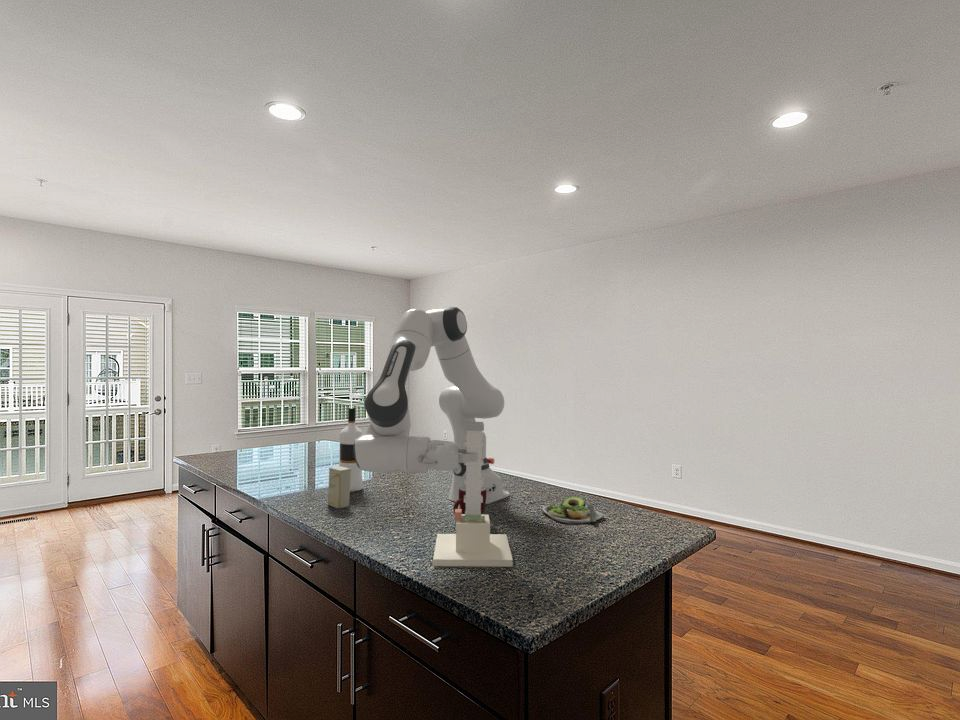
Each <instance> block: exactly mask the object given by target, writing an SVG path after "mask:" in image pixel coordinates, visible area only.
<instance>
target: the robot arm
mask: <svg viewBox="0 0 960 720" xmlns="http://www.w3.org/2000/svg"><path fill="white" fill-rule="evenodd" d="M467 330H468V323H467V318H466V315H465V313H464V312H463V311H462V310H461V309H460V308H459V307H457V306H447V307H445V308H444V307H443V308H435V309H429V310H426V311H425V310H423V309H419V308H411V309H409V310H407V311H405V312H404V313H403V314H402V316H401V318H400V320H399V322H397V325H396V328H395V330H394V332H393V336H392V338H391V343H390V348H389V353H388V356H387V358H386V361H385V364H384V368H382V369H383V370H382V373H381V375H380V377H379V379H378V380H377V382H376V383H375V384H374V386H372V388H371V389H370V390H369V392H368V393H367V395H366V397H365V400H364V409H365V411H366V414H367V416H368V418H369V420H370V422H369V425H367V427H366V429H364V432H363V434H362V435H361V436H360V437H359V438H357V439H355V442H354V456H355V461H356V464H357V466H358V467H359V468H360V469H361V470H362V471H364V472H369V473H378V474H379V473H381V474H385V473H386V474H390V473H391V474H392V473H394V472H395V473H396V472H402V473H405V474H428V472H429V470H433V471H434V470H435V471H436V470H439V471H453V473H452V479H451V485H450V486H451V487H450V491H449V495H448V500H450V501H452V502H454V503H455V502H456V501H457V500H459V488H460V487H462V486H466V484H464V477H466V465H464V463H466V462H477V461H478V454H477V453H471V454H467V446H465V441H467V431H465V423H466V422H477V420H476V419H492V418H497V417H499V416H500V415H501V414H502V413H503V411H504V408H505V397H504V395H503V393H502V391H500V390H499V388H497V387H495V386H494V385H492V384H491V383H490V382H489V381H488V380H487V379H486V378H485V377H484V376H483V374H482V372H481V371H480V369H479V368H478V366H477V364H476V362H475V359H474V356H473V354H472V351H471V348H470V345H469V342H468V340H467V338H466V336H465V335H466V334H467ZM431 347H434V349H435V354H436V356H437V358H438V361H439V364H440V367H441V369H442V373H443V375H444V378H445V379H446V380H448V382H450V383H451V384H452V385H451V386H447V387H445V388H443V389H442V391H441V392H440V395H439V396H438V397H439V398H438V405H439V407H440V410H441V411H442V412H443V413H444V414H445V415H446V417H447V419H448V420H449V423H450V425H451V429H452V433H453V441H448V440H439V439H438V440H437V439H431V437H429V436H409V434H410V431H411V426H412V425H411V424H412V423H411V419H410V418H411V417H410V412H409V410H410V409H409V401H408V400H409V399H408V394H407V391H406V385H407V381H408V378H409V374H410V372H415V371H418V370H420V369H422V368H423V367H425V364H426V362H427V361H428V358H429V355H430V352H431ZM482 441H484V447H482V459H483V461H484V462H483V465H481V477H483V484H481V486H482V487H485V488H486V503H485V505H488V504H492V503H494V502H497V501H501V500H502V499H505V498H508V497H510V496H511V494H510V492H509V491H508V490H504V482H503V479H502V477H501V476H499V474H497V473H496V472H495V471H494V470H493V469H491V467H490V465H494V464H495V459H494V457H493V458H492V457H488V458H487V435H486V433H485V431H482Z"/></svg>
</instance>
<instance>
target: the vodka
mask: <svg viewBox="0 0 960 720" xmlns="http://www.w3.org/2000/svg"><path fill="white" fill-rule="evenodd" d="M347 414H348V415H347V417H348V418H347V420H348V421H347V426H346V427H344V428H343V429H341V431H340V432H339V461H338V466H341V467H346V468H349V469H351V475H350V493H355V491H357V492H360V491H361V490H363V488H364V481H363V475H362V474H363V472H362V471H363V470H361V469H360V468H359V467H358V466H357V464H356V461H355V456H354V442H355V439H357V438H359V437H360V436H361V435H362V434H363V433H364V432H363V430H362V429H361V428H359V427H358V426H357V425H356V407H348V412H347Z"/></svg>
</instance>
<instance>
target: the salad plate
mask: <svg viewBox="0 0 960 720" xmlns="http://www.w3.org/2000/svg"><path fill="white" fill-rule="evenodd" d="M541 511H542V513H543V515H545V516H546V517H548V518H550V519H552V520H555V521H556V522H560V523H562V524H563V523H564V524H569V525H570V524H571V525H574V524H575V525H576V524H577V525H578V524H579V525H580V523H581V524H591V522H592V523H596V522H597V521H599V520H600V519H602V518H603V516H604V515H603V513H602V512H599V511H598V510H595V509H594V506H593V505H592V504H586V500H585V498H583V497H580V496H569V497H565V498H564V499H563V500H562V502H561V503H560V504H557V505H556V504H551V505H544V506H543V507H542V509H541Z"/></svg>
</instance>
